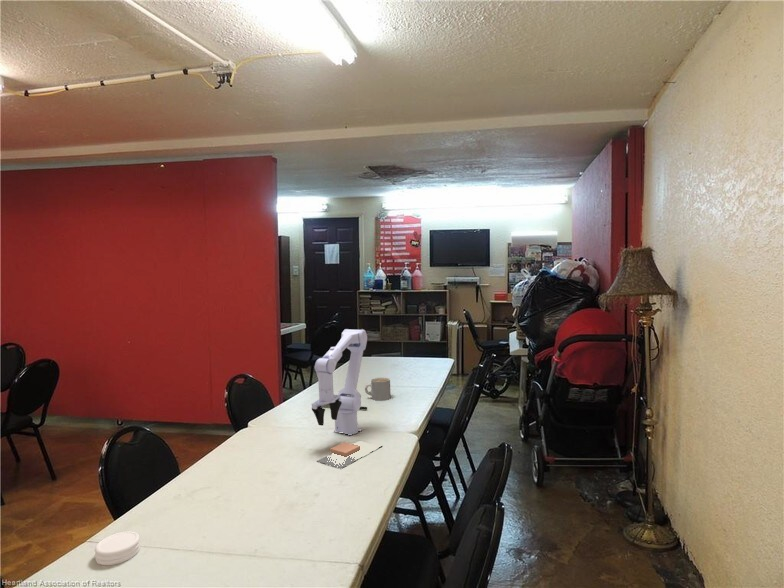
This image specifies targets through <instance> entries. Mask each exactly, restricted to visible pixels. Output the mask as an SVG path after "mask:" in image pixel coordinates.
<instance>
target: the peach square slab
mask: <svg viewBox="0 0 784 588" xmlns="http://www.w3.org/2000/svg"><path fill="white" fill-rule="evenodd" d="M359 450H360V446H358V445H354V444H352V443H350V442H345V441H343V442H341V443H339V444H337V445H335V446H333V447H331V448H329V453H330V454H332V453H334V454H337V455H341V456H344V457H347V456H349V455H351V454H353V453H355V452H357V451H359Z"/></svg>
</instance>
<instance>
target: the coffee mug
mask: <svg viewBox="0 0 784 588" xmlns="http://www.w3.org/2000/svg"><path fill="white" fill-rule="evenodd" d="M369 387H370V388H371V390H370V391H368V388H369ZM364 393H366V395H369V396H371V400H373V401H376V402H379V401H380V402H384V401H388V400H390V399H392V398H391V396H392V395H391V379H390V378H389V377H385V376H384V377H381V376H379V377H375V378H371V382H369V383H366V384H365V386H364Z"/></svg>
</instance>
